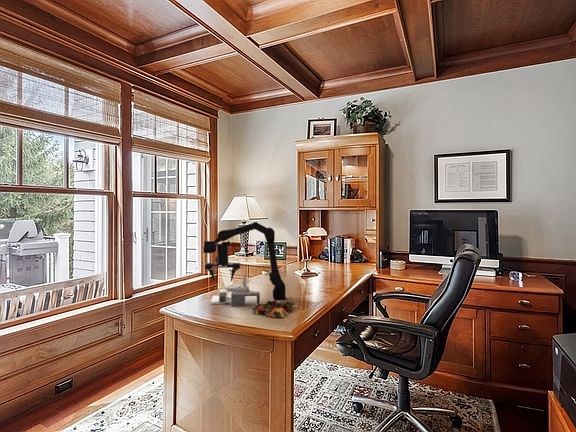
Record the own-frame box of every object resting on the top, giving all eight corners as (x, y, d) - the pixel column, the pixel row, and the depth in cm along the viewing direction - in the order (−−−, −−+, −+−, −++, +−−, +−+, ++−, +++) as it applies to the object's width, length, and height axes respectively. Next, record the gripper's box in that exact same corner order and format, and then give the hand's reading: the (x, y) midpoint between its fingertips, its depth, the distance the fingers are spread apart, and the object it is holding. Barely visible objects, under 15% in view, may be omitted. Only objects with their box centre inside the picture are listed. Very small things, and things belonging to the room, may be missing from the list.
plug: (227, 296, 194) (227, 289, 194) (226, 302, 182) (226, 294, 182) (219, 296, 193) (219, 289, 193) (218, 302, 181) (218, 294, 181)
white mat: (234, 296, 197) (234, 295, 197) (233, 303, 183) (233, 301, 183) (212, 297, 195) (212, 295, 195) (210, 304, 182) (210, 302, 181)
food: (267, 303, 184) (267, 297, 184) (300, 308, 177) (301, 301, 177) (247, 315, 164) (247, 308, 163) (284, 321, 157) (284, 313, 156)
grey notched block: (259, 302, 184) (259, 291, 184) (259, 305, 179) (259, 293, 179) (231, 303, 182) (231, 292, 182) (231, 306, 177) (231, 294, 177)
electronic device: (226, 274, 215) (249, 274, 213) (226, 290, 216) (250, 290, 213) (223, 276, 210) (247, 276, 208) (223, 292, 210) (247, 292, 208)
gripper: (240, 251, 199) (240, 278, 200) (207, 251, 197) (207, 279, 197) (240, 253, 188) (239, 282, 189) (204, 254, 186) (204, 283, 186)
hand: (222, 281), depth 190 cm, fingers open, 9 cm apart
